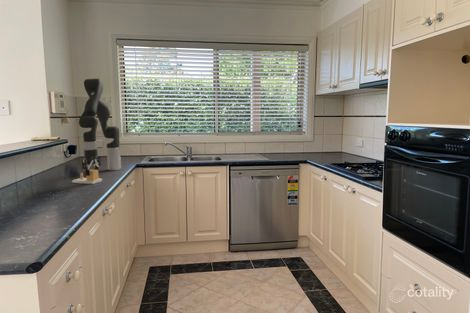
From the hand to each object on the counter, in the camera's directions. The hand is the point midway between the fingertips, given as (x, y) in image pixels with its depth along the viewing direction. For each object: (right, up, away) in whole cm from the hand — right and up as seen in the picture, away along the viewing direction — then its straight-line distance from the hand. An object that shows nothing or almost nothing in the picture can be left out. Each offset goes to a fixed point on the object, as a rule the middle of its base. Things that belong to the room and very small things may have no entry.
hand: (92, 174), depth 202 cm
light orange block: (0, -3, 0) cm, 3 cm away
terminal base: (-4, -5, +2) cm, 6 cm away
